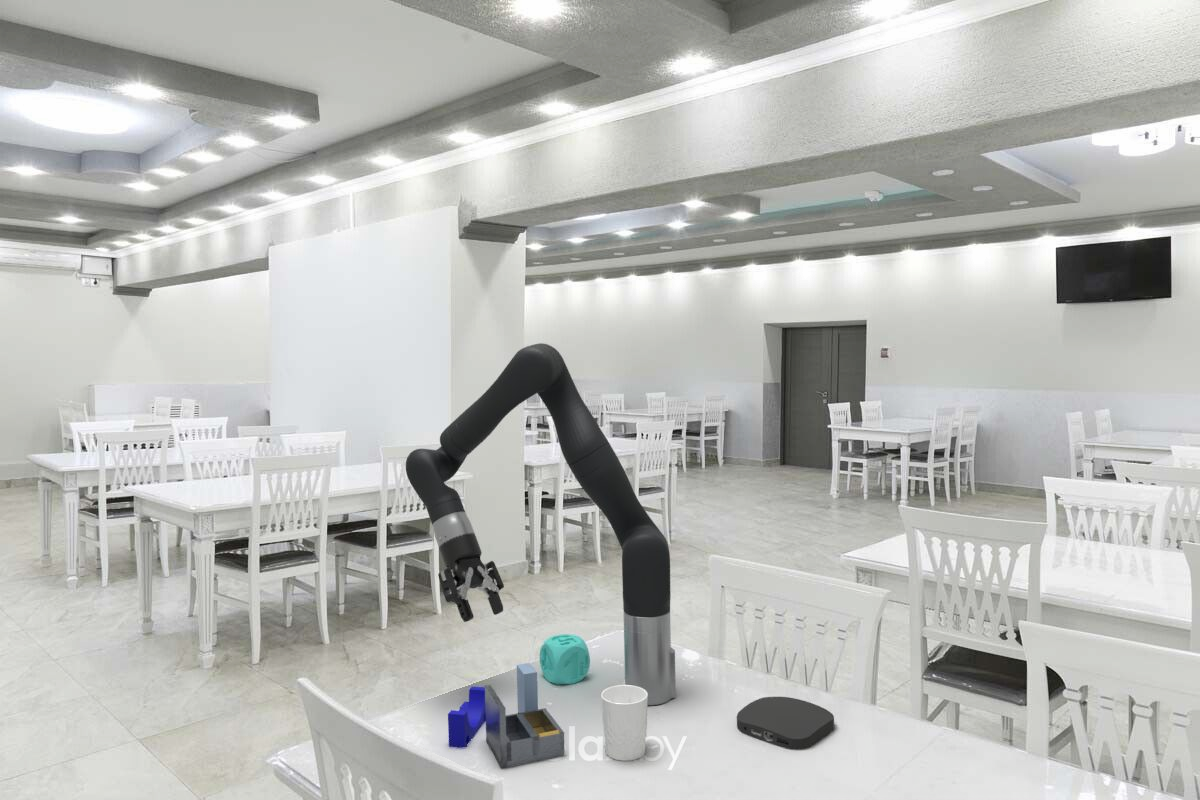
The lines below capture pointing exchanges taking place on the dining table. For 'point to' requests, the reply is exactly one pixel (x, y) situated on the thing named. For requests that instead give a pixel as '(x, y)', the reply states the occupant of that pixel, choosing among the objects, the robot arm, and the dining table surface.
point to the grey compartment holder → (520, 734)
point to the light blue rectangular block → (527, 688)
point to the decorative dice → (564, 659)
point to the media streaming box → (785, 722)
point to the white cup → (624, 721)
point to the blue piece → (467, 718)
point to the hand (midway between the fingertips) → (484, 616)
